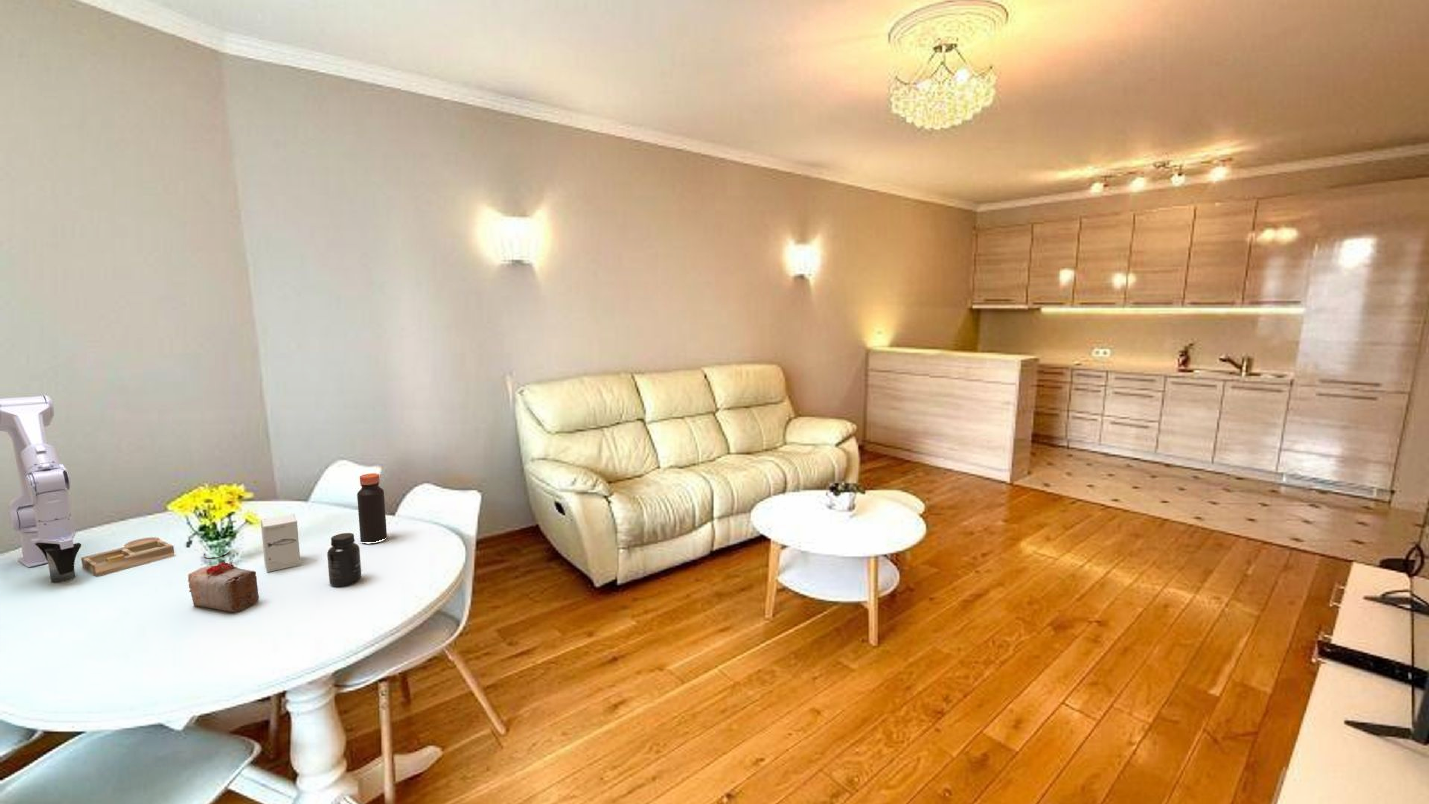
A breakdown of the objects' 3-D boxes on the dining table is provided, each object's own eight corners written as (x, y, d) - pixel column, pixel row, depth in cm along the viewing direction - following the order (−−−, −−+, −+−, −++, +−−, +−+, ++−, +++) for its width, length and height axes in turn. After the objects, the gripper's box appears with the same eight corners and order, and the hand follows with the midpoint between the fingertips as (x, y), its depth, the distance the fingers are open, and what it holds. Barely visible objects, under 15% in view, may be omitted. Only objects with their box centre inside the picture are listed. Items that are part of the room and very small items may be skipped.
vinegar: (378, 545, 165) (373, 479, 162) (355, 544, 165) (350, 478, 162) (391, 536, 172) (387, 472, 169) (369, 535, 172) (365, 472, 169)
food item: (184, 608, 128) (179, 567, 127) (222, 592, 136) (217, 553, 135) (230, 616, 125) (226, 574, 124) (266, 599, 133) (262, 560, 132)
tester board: (82, 567, 147) (80, 554, 146) (159, 548, 160) (157, 535, 159) (96, 576, 142) (94, 563, 142) (174, 555, 155) (173, 543, 155)
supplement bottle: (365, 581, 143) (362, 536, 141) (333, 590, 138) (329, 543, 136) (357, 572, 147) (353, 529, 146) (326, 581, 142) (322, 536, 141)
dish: (121, 550, 158) (120, 543, 157) (154, 542, 164) (153, 535, 164) (130, 555, 154) (129, 548, 154) (164, 547, 161) (163, 540, 160)
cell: (48, 580, 140) (43, 547, 139) (72, 574, 143) (67, 542, 142) (54, 584, 138) (48, 551, 137) (78, 578, 141) (73, 545, 140)
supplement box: (266, 573, 146) (261, 526, 144) (264, 563, 152) (259, 518, 150) (301, 565, 151) (297, 520, 149) (298, 556, 156) (294, 512, 155)
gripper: (19, 517, 138) (28, 569, 140) (38, 528, 131) (47, 583, 133) (62, 508, 144) (70, 559, 146) (82, 519, 137) (90, 572, 139)
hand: (62, 570), depth 140 cm, fingers open, 6 cm apart
